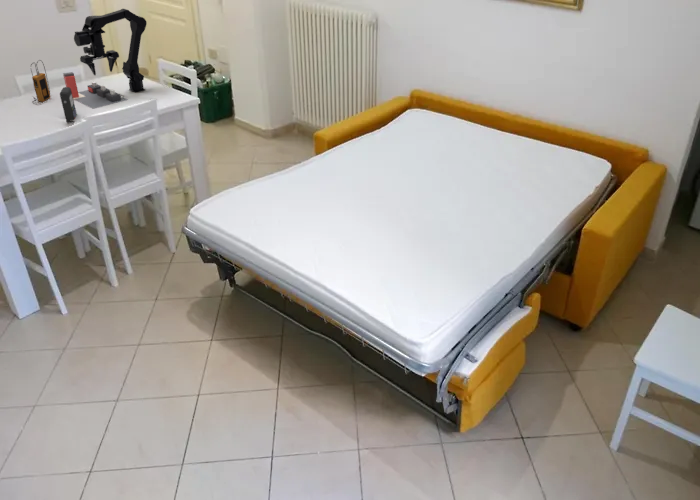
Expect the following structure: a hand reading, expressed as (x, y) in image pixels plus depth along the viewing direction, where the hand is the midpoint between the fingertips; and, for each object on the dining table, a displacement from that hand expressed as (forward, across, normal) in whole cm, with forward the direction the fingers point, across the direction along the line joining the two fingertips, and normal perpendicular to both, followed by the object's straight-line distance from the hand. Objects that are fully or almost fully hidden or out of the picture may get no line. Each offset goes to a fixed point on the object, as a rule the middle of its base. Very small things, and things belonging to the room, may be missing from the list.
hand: (103, 73), depth 307 cm
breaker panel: (+13, +7, 0) cm, 15 cm away
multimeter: (+13, +27, -22) cm, 37 cm away
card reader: (+13, +29, +17) cm, 36 cm away
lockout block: (+11, +14, -9) cm, 20 cm away
